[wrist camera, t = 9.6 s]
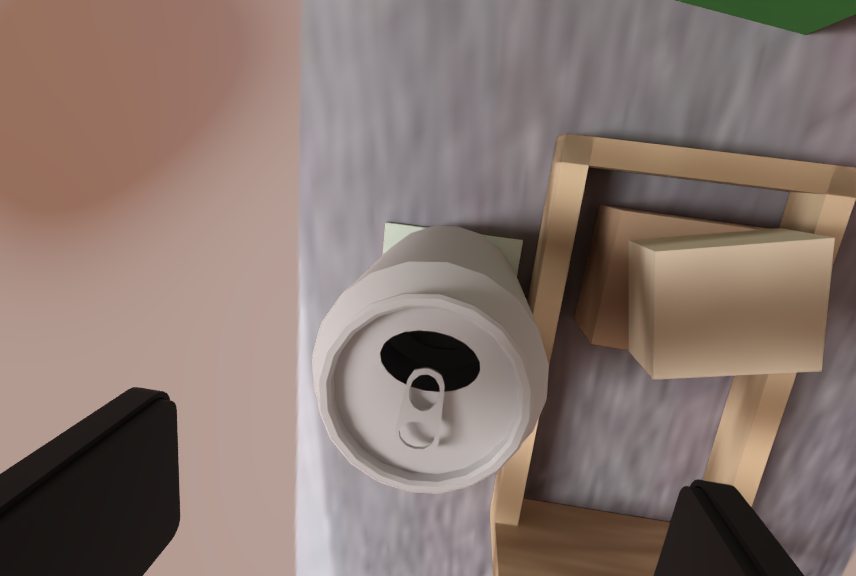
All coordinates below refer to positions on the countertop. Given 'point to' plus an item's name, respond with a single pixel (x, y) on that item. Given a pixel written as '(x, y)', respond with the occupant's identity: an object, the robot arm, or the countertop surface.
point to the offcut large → (625, 266)
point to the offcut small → (729, 303)
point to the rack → (749, 394)
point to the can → (431, 364)
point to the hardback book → (784, 12)
